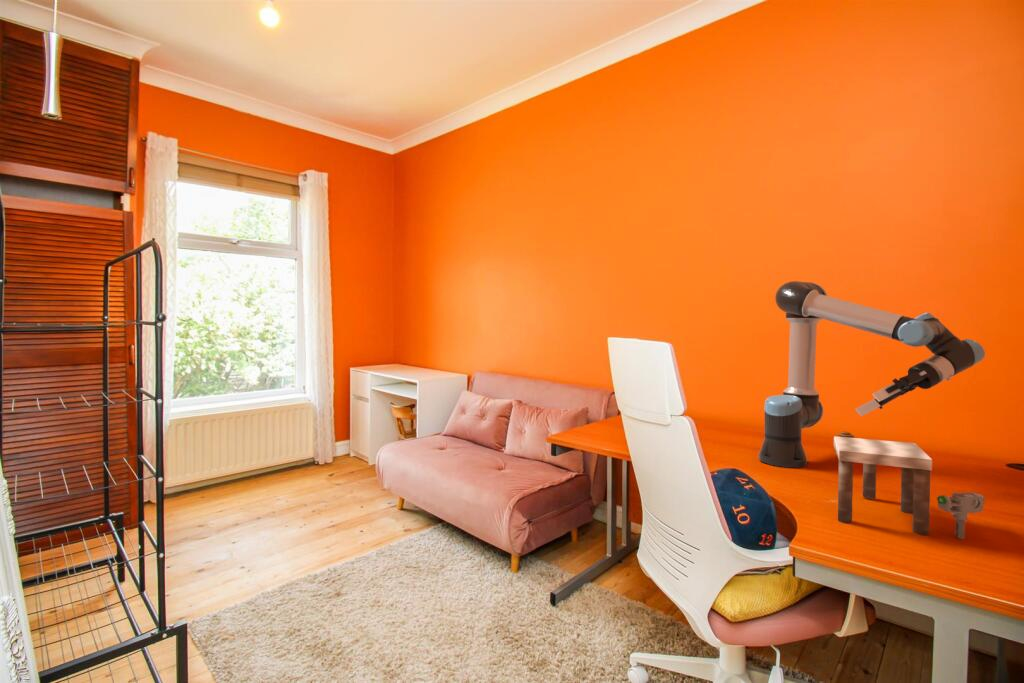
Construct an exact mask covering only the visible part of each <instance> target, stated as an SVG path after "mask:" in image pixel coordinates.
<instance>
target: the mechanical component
mask: <svg viewBox="0 0 1024 683" xmlns="http://www.w3.org/2000/svg"><path fill="white" fill-rule="evenodd" d="M936 500H937V506H938V509H939V510H941V511H944V512H947V513H950V514H952V518H954V519H955V527H954V528H955V530H954V531H955V532H954V535H955V537H956V538H958V539H960V540H965V531H966V530H965V527H966V526H965V525H966V524H965V522H966V521H968V520H969V518H968V514H980V513H981V512H983V510H984V504H985V496H983V495H982V494H978V493H975V492H952V493H951V496H950V497H949V496H948V495H946V494H945V495H944V494H943V495H942V494H941V495H939V496H937V498H936Z"/></svg>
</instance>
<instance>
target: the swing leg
mask: <svg viewBox="0 0 1024 683" xmlns="http://www.w3.org/2000/svg"><path fill="white" fill-rule="evenodd" d="M862 465H863V467H862V497H863V498H865V499H869V500H876V498H877V497H876V495H877V494H876V493H877V490H876V489H877V488H876V487H877V465H876V464H867V463H862Z"/></svg>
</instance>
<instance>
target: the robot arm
mask: <svg viewBox="0 0 1024 683" xmlns="http://www.w3.org/2000/svg"><path fill="white" fill-rule="evenodd" d="M775 303H776V305H777V307H778V309H780V310H781V311H782V312H784V313H785V320H786V321H787V322H788V323H789V346H788V348H789V349H788V350H789V351H788V375H787V381H788V382H787V387H786V388H785V389H784V390H783V391H782V393H783V394H779V395H778V394H777V395H775V394H774V395H771V396H768V397H767V398H766V399H765V401H764V407H763V408H764V438H763V442H762V444H761V447H760V449H759V452H758V460H759V461H760V462H761V461H762V463H763V462H764V464H766V463H767V464H766V465H769V464H770V466H774V465H775V467H780V466H782V467H781V468H802V467H803V466H804V467H806V466H807V464H808V459H807V455H806V453H805V448H804V446H803V443H802V429H806V428H807V429H808V428H811V427H813V426H814V425H816V424H817V423H819V422H820V421H821V419H822V418H823V416H824V406H823V404H822V402H821V401H820V392H819V391H817V390H816V388H815V387H816V386H815V384H816V379H815V378H816V359H817V358H816V356H817V354H816V352H817V331H818V329H817V327H818V323H819V322H820V321H821V320H822V319H823V320H825V321H829V322H833V323H836V324H839V325H843V326H845V327H846V326H847V327H850V328H854V329H858V330H861V331H864V332H867V333H871V334H875V335H877V336H878V335H879V336H881V337H885V338H888V339H891V340H895V341H898V342H900V343H903V344H904V345H907V346H910V347H914V348H916V347H918V348H919V347H922V346H923V347H924V346H925V347H926V348H927V349H928V350H929V351H930V352H931V353H932V354H933V355H931V356H930V357H927V358H925V359H924V360H922V361H920V362H918V363H916V364H914V365H913V366H911V367H909V368H908V369H907V375H904V376H902V377H899V379H897V378H894V379H893V380H891V382H892V383H890V384H888V385H886V386H885V387H882V388H880V389H879V390H877V391H875V392H873V393H871V395H872V396H873V398H874V399H871V400H869V401H867V402H866V403H863V404H861V405H860V406H858V407H856V408H855V411H856V413H858V415H859V416H860V417H863V416H866V415H867V414H869V413H871V412H872V411H874V410H877V409H880V410H881V409H883V406H885V405H886V404H889V402H892V401H893V400H895V399H897V398H899V397H900V396H903V395H905V394H907V393H909V392H912V391H914V390H915V389H917V388H920V389H922V390H928V389H931V388H933V387H935V386H936V385H938V384H940V383H942V382H944V381H946V380H947V381H951V380H952V377H953V376H954V377H955V376H956V375H958V374H959V373H962V372H964V371H966V370H967V369H969V368H970V369H971V368H972V367H974V365H976V364H978V363H980V362H981V361H983V360H984V358H985V356H986V353H985V352H986V351H985V349H984V347H983V345H981V344H980V343H979V342H977V341H974V340H973V339H970V338H965V339H960V338H959V337H958V336H956V335H955V334H954V333H953V332H951V330H949V329H948V328H947V327H946V326H945V325H944V324H943V323H942V322H941V321H940V319H938V318H937V317H935V316H934V315H933V314H932V313H930V312H923V313H922V314H920V315H918V316H916V317H909V316H905V315H901V314H898V313H894V312H889V311H886V310H884V309H883V310H882V309H878V308H874V307H870V306H867V305H862V304H859V303H855V302H852V301H847V300H844V299H841V298H836V297H834V296H833V297H832V296H828V294H827V292H826V290H825V288H823V287H822V286H821V285H819V284H816V283H814V282H811V281H809V282H808V281H798V280H797V281H795V280H794V281H792V280H791V281H788V282H785V283H783V284H782V285H781V286H780V287H779V288H778V289H777V291H776V293H775ZM804 467H803V468H804Z"/></svg>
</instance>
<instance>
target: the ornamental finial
mask: <svg viewBox="0 0 1024 683" xmlns="http://www.w3.org/2000/svg"><path fill="white" fill-rule="evenodd" d="M836 437H848V438H856V437H855V435H853V433H851V432H850V431H845V430H843V431H841V432H839V433H838V434H837V435H836ZM833 450H834V452H835V451H836V450H835V447H834V446H833Z"/></svg>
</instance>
